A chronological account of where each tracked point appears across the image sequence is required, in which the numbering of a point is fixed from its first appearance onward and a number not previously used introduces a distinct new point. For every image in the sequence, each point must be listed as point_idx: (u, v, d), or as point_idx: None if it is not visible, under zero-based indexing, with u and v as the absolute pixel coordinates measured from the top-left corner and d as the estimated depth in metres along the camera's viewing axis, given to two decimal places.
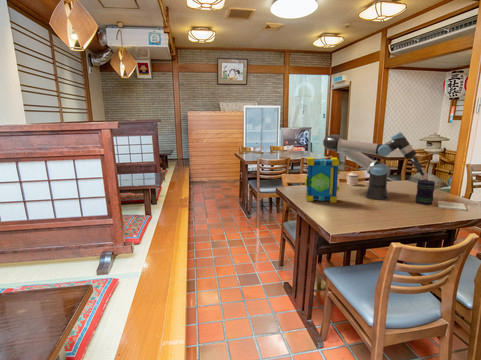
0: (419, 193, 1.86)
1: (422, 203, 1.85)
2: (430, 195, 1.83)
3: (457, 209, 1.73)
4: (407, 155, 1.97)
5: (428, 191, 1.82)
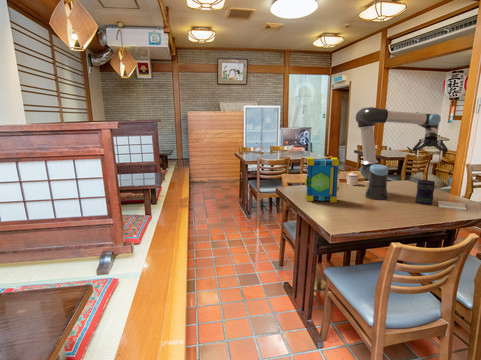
0: (419, 193, 1.86)
1: (422, 203, 1.85)
2: (430, 195, 1.83)
3: (457, 209, 1.73)
4: None
5: (428, 191, 1.82)
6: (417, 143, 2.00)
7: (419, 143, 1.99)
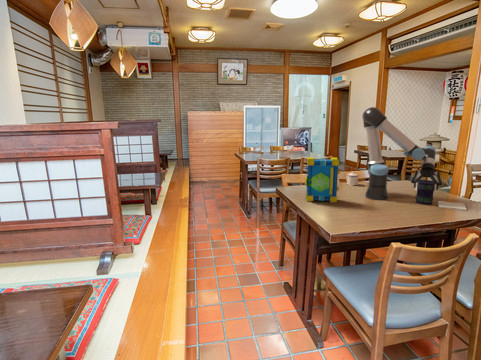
0: (419, 193, 1.86)
1: (422, 203, 1.85)
2: (430, 195, 1.83)
3: (457, 209, 1.73)
4: None
5: (428, 191, 1.82)
6: None
7: (416, 174, 1.92)
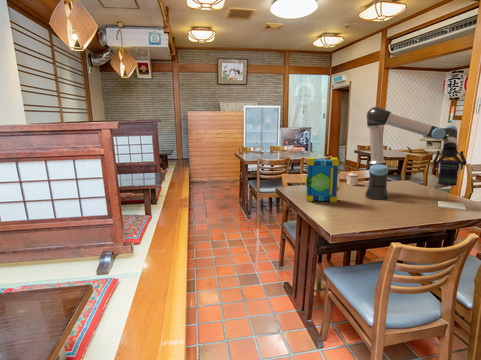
0: (442, 173, 1.77)
1: (446, 184, 1.76)
2: (454, 175, 1.74)
3: (457, 209, 1.73)
4: (456, 146, 1.82)
5: (452, 171, 1.74)
6: (436, 155, 1.84)
7: (438, 154, 1.84)
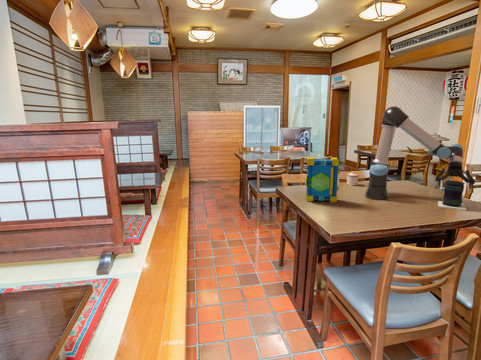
0: (447, 194, 1.78)
1: (450, 205, 1.77)
2: (459, 196, 1.75)
3: (457, 209, 1.73)
4: None
5: (457, 192, 1.74)
6: None
7: (442, 172, 1.84)
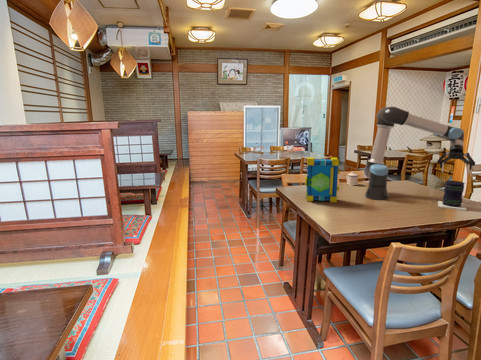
0: (447, 194, 1.78)
1: (450, 205, 1.77)
2: (459, 196, 1.75)
3: (457, 209, 1.73)
4: None
5: (457, 192, 1.74)
6: (442, 155, 1.93)
7: (444, 155, 1.92)
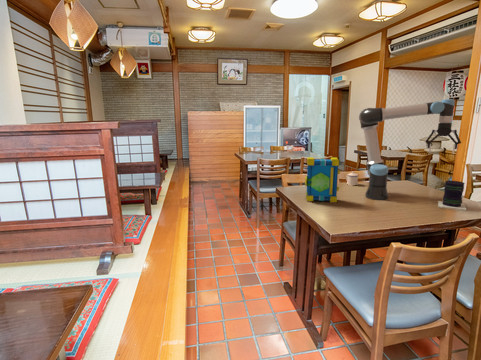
0: (447, 194, 1.78)
1: (450, 205, 1.77)
2: (459, 196, 1.75)
3: (457, 209, 1.73)
4: (451, 124, 1.89)
5: (457, 192, 1.74)
6: (430, 135, 1.97)
7: None
